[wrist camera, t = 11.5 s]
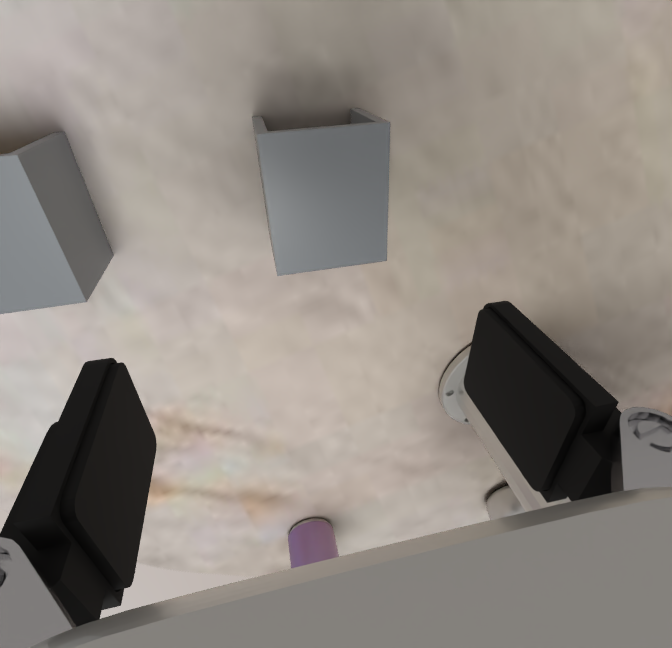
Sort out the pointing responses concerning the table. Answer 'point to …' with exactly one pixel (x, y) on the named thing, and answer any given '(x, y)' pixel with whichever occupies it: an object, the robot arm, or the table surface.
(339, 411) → the table surface
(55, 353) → the table surface
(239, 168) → the table surface
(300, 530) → the beverage can
